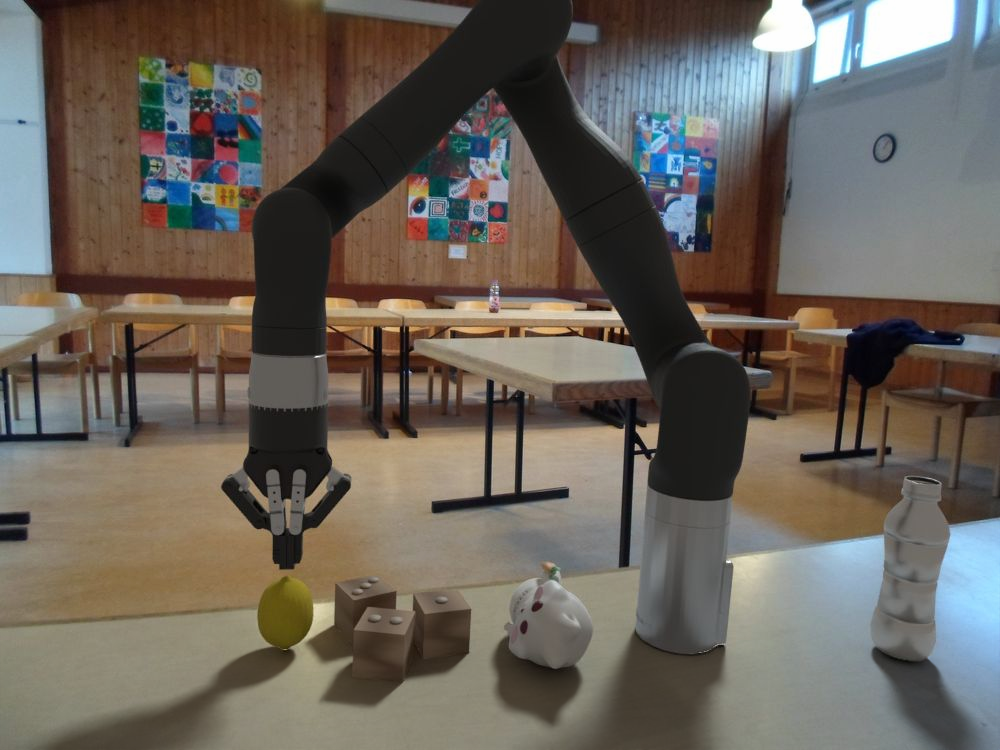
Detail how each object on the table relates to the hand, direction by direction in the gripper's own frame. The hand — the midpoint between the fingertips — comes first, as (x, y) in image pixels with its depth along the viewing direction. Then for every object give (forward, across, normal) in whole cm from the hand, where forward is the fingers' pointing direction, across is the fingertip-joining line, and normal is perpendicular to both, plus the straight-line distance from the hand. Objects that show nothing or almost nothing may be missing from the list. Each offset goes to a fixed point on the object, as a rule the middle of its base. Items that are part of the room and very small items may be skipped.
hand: (287, 566), depth 73 cm
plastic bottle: (+10, -67, +6) cm, 68 cm away
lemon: (+9, 0, 0) cm, 9 cm away
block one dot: (+9, -16, 0) cm, 18 cm away
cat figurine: (+10, -27, +3) cm, 29 cm away
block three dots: (+9, -8, -4) cm, 13 cm away
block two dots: (+9, -10, +4) cm, 14 cm away
